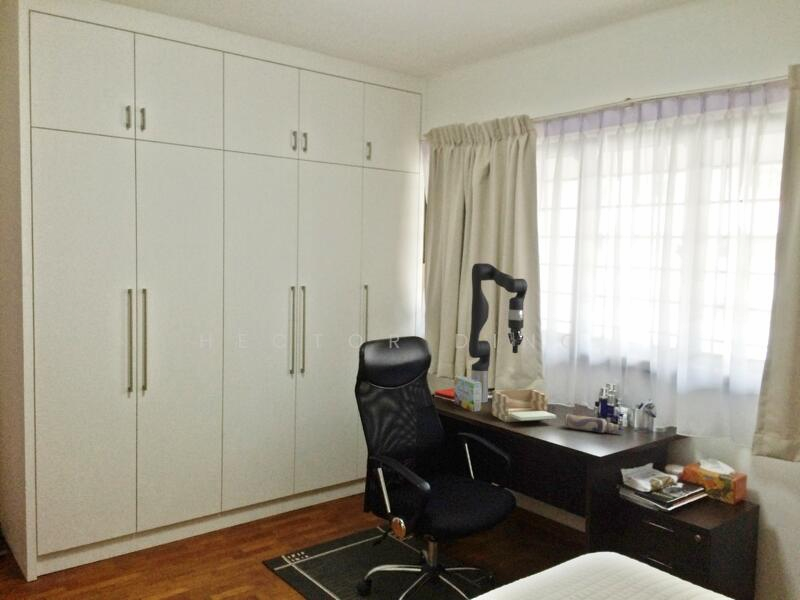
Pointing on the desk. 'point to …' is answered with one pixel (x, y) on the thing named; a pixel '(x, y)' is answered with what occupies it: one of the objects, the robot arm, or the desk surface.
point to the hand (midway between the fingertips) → (515, 353)
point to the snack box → (467, 393)
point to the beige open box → (517, 403)
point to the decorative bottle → (590, 424)
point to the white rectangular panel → (532, 415)
